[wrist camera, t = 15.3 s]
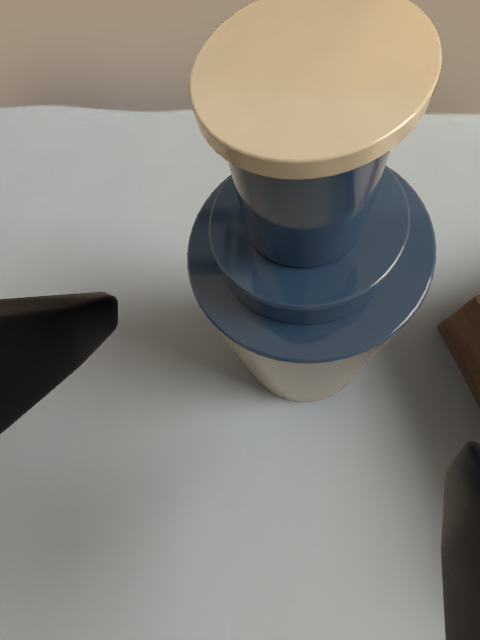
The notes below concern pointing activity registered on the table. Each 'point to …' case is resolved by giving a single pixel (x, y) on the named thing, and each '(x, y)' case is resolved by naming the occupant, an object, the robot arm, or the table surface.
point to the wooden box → (465, 341)
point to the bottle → (312, 185)
